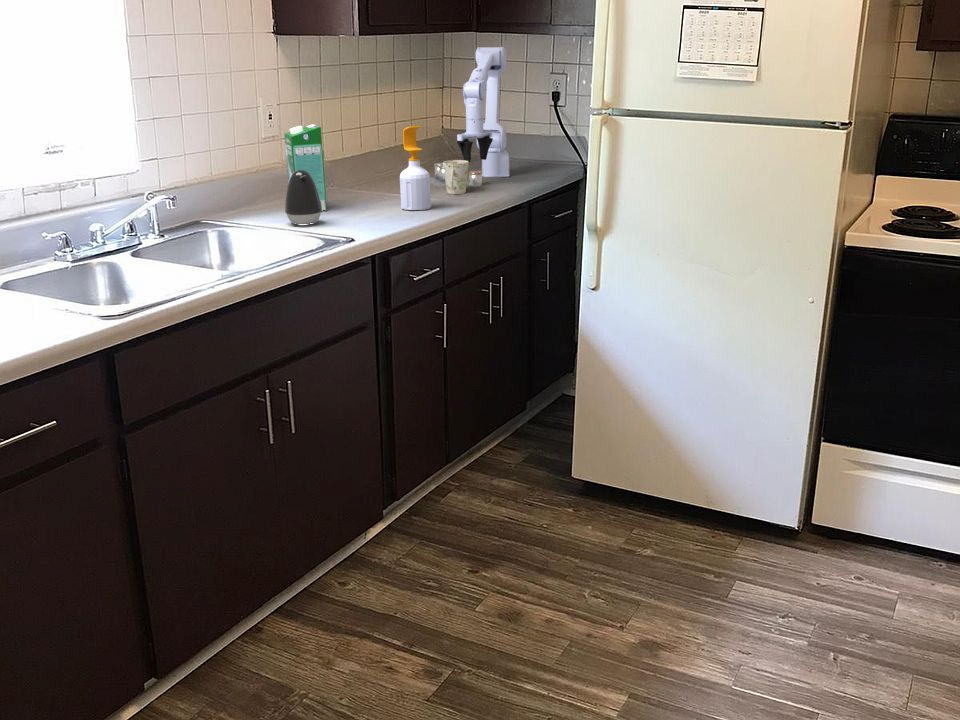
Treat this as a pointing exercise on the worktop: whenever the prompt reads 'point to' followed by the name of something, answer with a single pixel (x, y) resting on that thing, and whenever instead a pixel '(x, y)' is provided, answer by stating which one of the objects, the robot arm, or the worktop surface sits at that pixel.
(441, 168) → the tin middle
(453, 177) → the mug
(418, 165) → the soap bottle
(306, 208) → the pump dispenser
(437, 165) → the tin left
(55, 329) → the worktop surface
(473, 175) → the cylinder
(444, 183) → the slate board
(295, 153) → the milk carton
